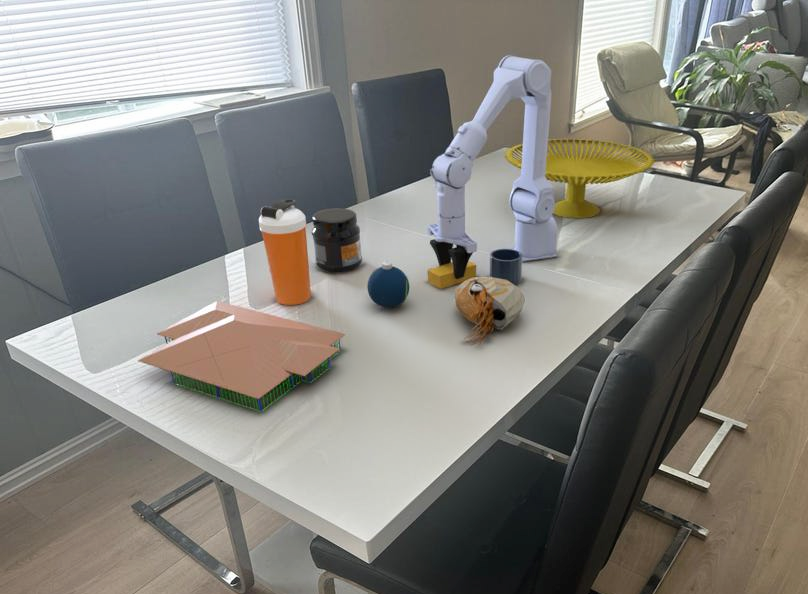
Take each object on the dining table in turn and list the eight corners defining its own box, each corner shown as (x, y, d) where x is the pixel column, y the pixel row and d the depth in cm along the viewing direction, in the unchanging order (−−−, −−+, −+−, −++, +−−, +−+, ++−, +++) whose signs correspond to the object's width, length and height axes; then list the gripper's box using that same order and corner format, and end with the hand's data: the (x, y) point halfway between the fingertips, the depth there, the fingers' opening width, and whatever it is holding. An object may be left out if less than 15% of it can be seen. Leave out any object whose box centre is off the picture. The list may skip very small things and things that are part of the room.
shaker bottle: (323, 292, 146) (312, 200, 136) (300, 310, 139) (287, 214, 128) (287, 286, 148) (273, 195, 138) (262, 303, 141) (246, 208, 131)
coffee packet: (463, 270, 156) (463, 258, 155) (476, 277, 153) (476, 264, 152) (428, 282, 151) (427, 269, 149) (440, 289, 148) (440, 276, 146)
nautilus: (501, 360, 123) (425, 348, 128) (536, 304, 140) (468, 295, 145) (499, 322, 119) (420, 311, 124) (536, 268, 135) (465, 261, 140)
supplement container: (372, 265, 159) (368, 214, 152) (334, 278, 152) (329, 226, 146) (343, 252, 165) (339, 204, 158) (306, 265, 158) (300, 215, 152)
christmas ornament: (399, 317, 136) (396, 271, 131) (361, 311, 139) (357, 264, 133) (417, 300, 143) (415, 255, 138) (380, 294, 145) (377, 249, 140)
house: (275, 420, 106) (267, 375, 102) (123, 370, 118) (110, 329, 114) (360, 353, 124) (356, 312, 120) (220, 316, 136) (212, 278, 132)
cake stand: (668, 203, 199) (676, 150, 191) (613, 247, 169) (619, 186, 162) (544, 180, 217) (547, 131, 209) (475, 216, 188) (475, 161, 180)
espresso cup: (514, 272, 156) (514, 247, 153) (526, 284, 150) (527, 258, 147) (484, 276, 154) (485, 250, 151) (496, 288, 148) (496, 262, 145)
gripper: (415, 208, 147) (418, 268, 154) (457, 227, 137) (458, 289, 144) (442, 202, 151) (443, 260, 158) (484, 219, 141) (484, 280, 148)
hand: (452, 273), depth 151 cm, fingers closed on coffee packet, 4 cm apart
